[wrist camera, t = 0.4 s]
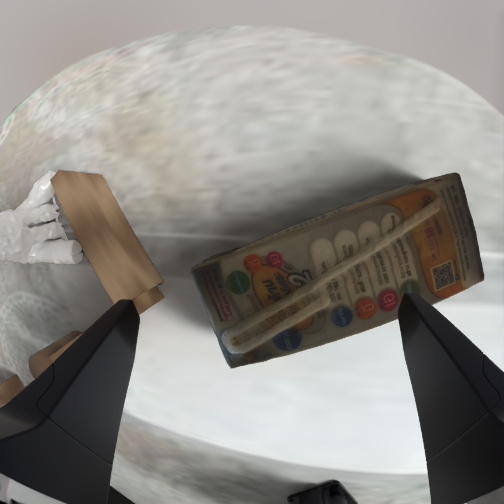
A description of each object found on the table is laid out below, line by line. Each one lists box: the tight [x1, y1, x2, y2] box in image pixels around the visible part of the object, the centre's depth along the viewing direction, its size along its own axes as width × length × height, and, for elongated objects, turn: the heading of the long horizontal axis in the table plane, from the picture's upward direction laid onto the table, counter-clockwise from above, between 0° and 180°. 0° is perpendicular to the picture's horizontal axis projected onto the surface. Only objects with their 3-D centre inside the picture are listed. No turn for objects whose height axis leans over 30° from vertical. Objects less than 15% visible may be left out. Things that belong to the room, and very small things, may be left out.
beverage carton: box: [191, 173, 484, 368], centre depth 21 cm, size 8×19×6 cm, turn 111°
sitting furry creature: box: [0, 171, 83, 265], centre depth 21 cm, size 10×9×12 cm
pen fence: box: [0, 170, 164, 407], centre depth 25 cm, size 14×40×9 cm, turn 123°
